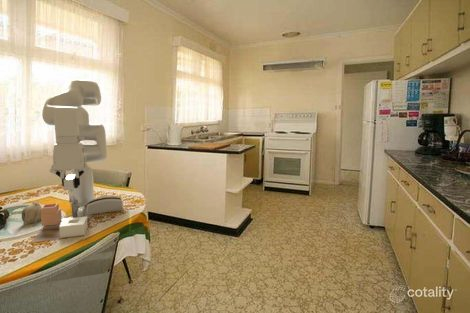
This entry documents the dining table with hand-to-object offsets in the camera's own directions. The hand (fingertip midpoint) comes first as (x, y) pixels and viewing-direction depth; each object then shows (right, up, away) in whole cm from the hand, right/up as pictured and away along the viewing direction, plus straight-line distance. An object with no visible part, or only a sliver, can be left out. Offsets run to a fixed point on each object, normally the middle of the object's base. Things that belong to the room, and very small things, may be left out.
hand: (71, 187), depth 103 cm
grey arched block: (0, -16, +26) cm, 31 cm away
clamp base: (-8, -17, +10) cm, 21 cm away
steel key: (0, -6, +1) cm, 6 cm away
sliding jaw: (-13, -16, +8) cm, 22 cm away
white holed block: (0, -18, +3) cm, 18 cm away
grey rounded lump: (-24, -18, +13) cm, 33 cm away
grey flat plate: (-6, -19, +6) cm, 21 cm away
